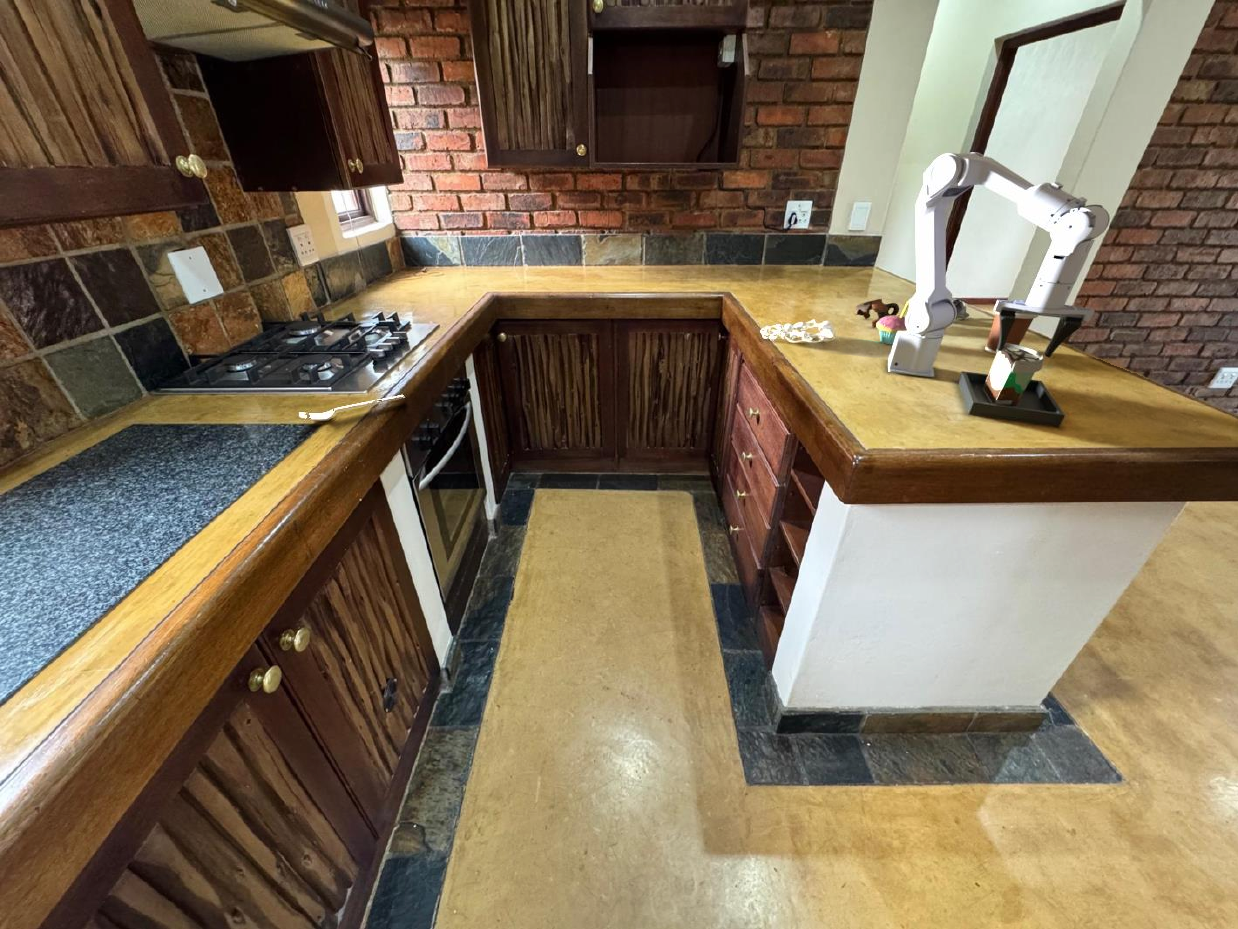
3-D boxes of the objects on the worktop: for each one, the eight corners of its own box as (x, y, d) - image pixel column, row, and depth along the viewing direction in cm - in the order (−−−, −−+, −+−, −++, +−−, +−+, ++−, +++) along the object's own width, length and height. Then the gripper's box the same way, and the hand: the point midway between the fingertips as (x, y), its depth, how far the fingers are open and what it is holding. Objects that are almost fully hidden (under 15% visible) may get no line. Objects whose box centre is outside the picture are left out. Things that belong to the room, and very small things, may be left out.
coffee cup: (1004, 344, 130) (1024, 298, 123) (1030, 356, 122) (1052, 307, 116) (971, 345, 130) (989, 299, 123) (994, 357, 122) (1014, 308, 116)
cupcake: (908, 340, 134) (922, 295, 128) (904, 349, 128) (919, 302, 122) (874, 335, 138) (886, 291, 132) (869, 343, 132) (881, 298, 126)
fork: (406, 401, 106) (404, 393, 105) (302, 425, 97) (299, 417, 96) (403, 396, 108) (401, 388, 107) (301, 419, 99) (298, 411, 98)
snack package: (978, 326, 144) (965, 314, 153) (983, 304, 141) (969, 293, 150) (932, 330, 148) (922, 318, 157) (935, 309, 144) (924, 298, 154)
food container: (1031, 414, 94) (1056, 366, 89) (994, 410, 96) (1016, 362, 91) (1014, 390, 104) (1035, 344, 99) (981, 386, 106) (1000, 341, 100)
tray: (968, 414, 96) (973, 402, 95) (957, 381, 110) (961, 371, 108) (1059, 427, 91) (1065, 415, 90) (1036, 391, 104) (1041, 380, 103)
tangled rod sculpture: (758, 348, 134) (760, 334, 131) (761, 328, 145) (763, 315, 142) (834, 352, 129) (837, 337, 126) (831, 331, 140) (834, 317, 137)
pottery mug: (863, 330, 143) (858, 302, 143) (853, 335, 152) (848, 309, 152) (906, 320, 141) (901, 291, 140) (893, 325, 150) (888, 299, 150)
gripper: (1101, 280, 88) (1065, 352, 96) (1005, 272, 95) (978, 340, 102) (1110, 288, 83) (1071, 363, 91) (1008, 280, 90) (979, 351, 97)
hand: (1022, 352), depth 96 cm, fingers open, 7 cm apart
